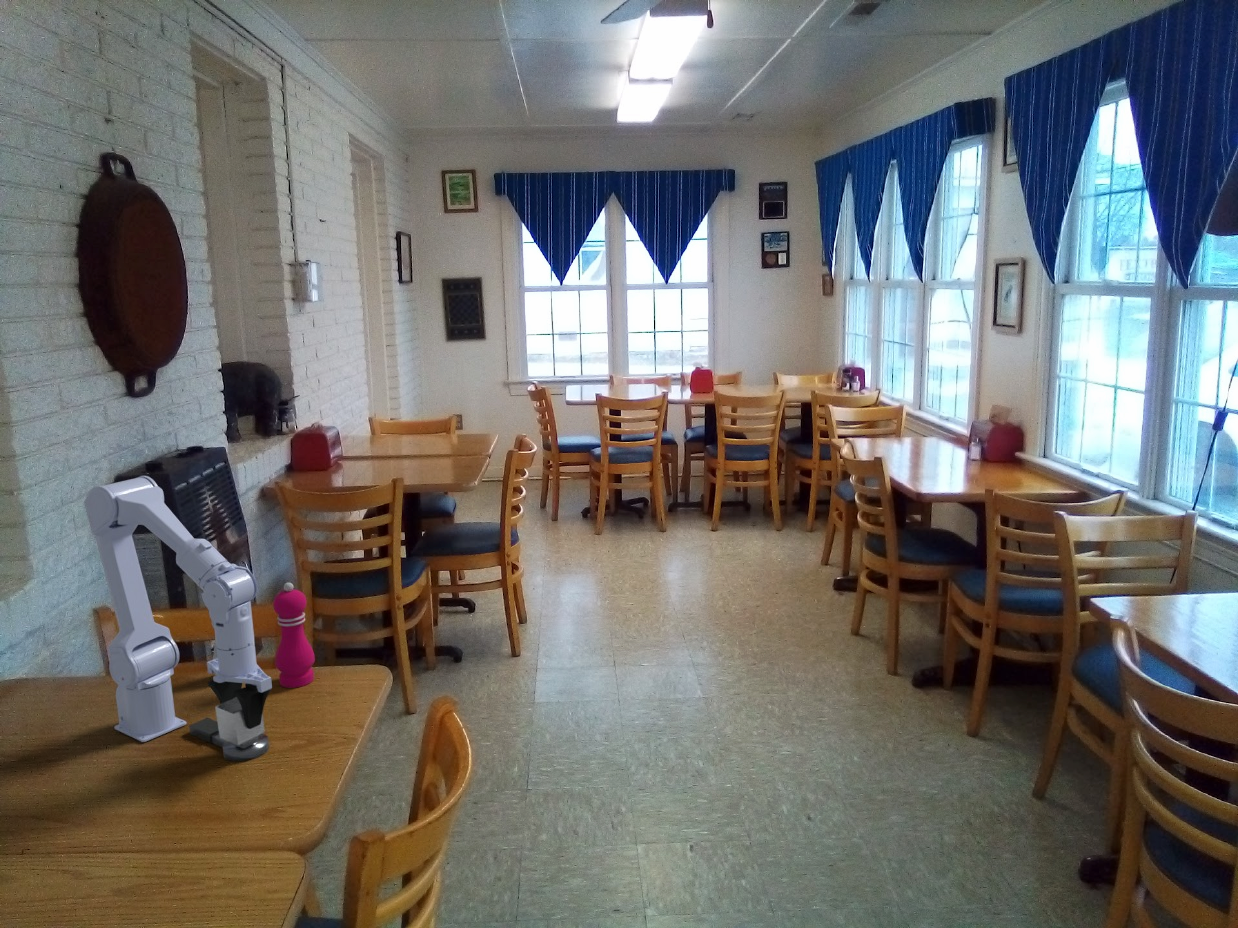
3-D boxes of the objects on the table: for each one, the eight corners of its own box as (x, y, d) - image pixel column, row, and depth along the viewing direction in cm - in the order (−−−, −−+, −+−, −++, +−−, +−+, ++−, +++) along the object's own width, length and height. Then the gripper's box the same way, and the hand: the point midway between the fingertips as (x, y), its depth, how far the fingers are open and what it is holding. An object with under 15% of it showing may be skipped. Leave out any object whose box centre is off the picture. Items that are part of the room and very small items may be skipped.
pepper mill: (283, 674, 183) (273, 577, 179) (320, 672, 184) (312, 575, 180) (272, 690, 176) (263, 589, 172) (311, 688, 176) (302, 587, 173)
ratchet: (179, 737, 158) (176, 713, 157) (216, 721, 164) (213, 698, 163) (240, 765, 148) (237, 740, 147) (277, 747, 154) (275, 722, 153)
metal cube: (219, 737, 151) (215, 706, 150) (246, 724, 155) (242, 694, 154) (238, 745, 149) (233, 713, 147) (265, 731, 153) (260, 701, 151)
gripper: (186, 642, 150) (195, 720, 153) (240, 661, 142) (248, 743, 145) (225, 629, 156) (233, 704, 158) (279, 646, 148) (287, 725, 150)
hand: (243, 721), depth 152 cm, fingers closed on metal cube, 5 cm apart
